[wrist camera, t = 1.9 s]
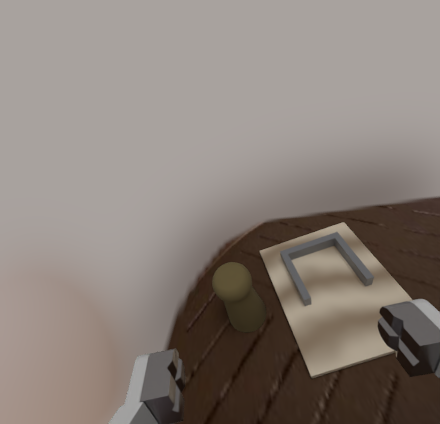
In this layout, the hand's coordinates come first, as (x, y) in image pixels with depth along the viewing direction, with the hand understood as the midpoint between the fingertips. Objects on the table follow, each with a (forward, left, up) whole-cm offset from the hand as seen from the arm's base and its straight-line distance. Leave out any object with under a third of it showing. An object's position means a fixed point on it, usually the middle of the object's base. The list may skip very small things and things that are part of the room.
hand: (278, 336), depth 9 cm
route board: (-17, -2, -26) cm, 31 cm away
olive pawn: (-8, -12, -26) cm, 30 cm away
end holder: (-19, -4, -25) cm, 31 cm away
